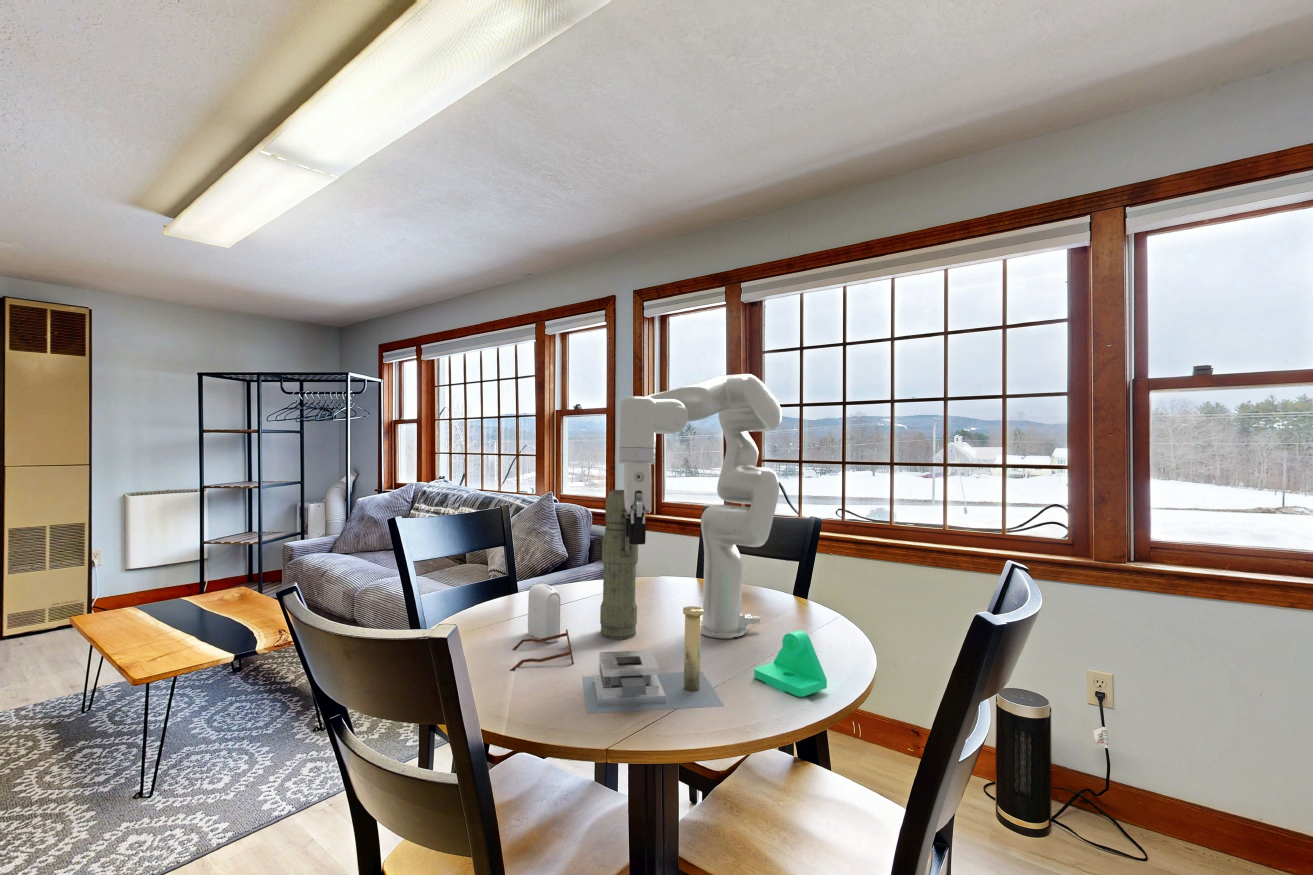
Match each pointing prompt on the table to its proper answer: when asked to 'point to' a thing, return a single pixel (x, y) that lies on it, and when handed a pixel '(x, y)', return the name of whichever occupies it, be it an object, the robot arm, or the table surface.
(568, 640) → the glasses
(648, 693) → the clevis
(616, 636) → the thermos
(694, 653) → the pin
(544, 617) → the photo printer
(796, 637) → the camera mount
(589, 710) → the mat
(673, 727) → the table surface
